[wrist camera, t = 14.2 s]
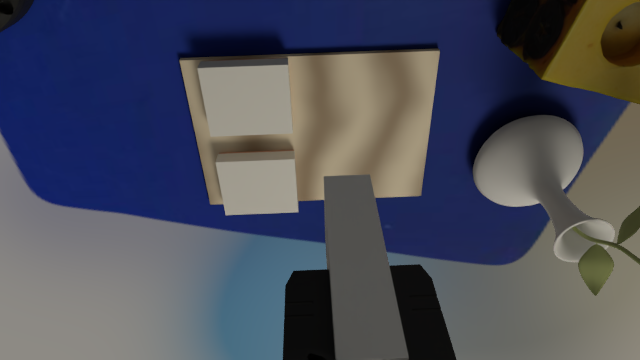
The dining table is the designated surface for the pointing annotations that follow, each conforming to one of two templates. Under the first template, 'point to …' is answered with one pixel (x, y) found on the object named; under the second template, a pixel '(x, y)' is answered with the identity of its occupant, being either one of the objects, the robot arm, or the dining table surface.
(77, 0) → the dining table surface
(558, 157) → the flower in vase
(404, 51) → the board
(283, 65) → the tile
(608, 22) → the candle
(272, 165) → the tile
